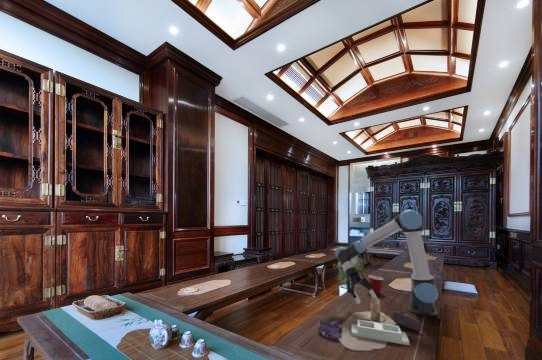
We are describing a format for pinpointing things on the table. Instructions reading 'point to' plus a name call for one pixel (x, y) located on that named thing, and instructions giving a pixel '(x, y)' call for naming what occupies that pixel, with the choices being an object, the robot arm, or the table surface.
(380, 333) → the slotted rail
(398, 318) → the perforated stone tool
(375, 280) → the plastic cup
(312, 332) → the table surface
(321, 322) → the mineral specimen
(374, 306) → the birch peg
